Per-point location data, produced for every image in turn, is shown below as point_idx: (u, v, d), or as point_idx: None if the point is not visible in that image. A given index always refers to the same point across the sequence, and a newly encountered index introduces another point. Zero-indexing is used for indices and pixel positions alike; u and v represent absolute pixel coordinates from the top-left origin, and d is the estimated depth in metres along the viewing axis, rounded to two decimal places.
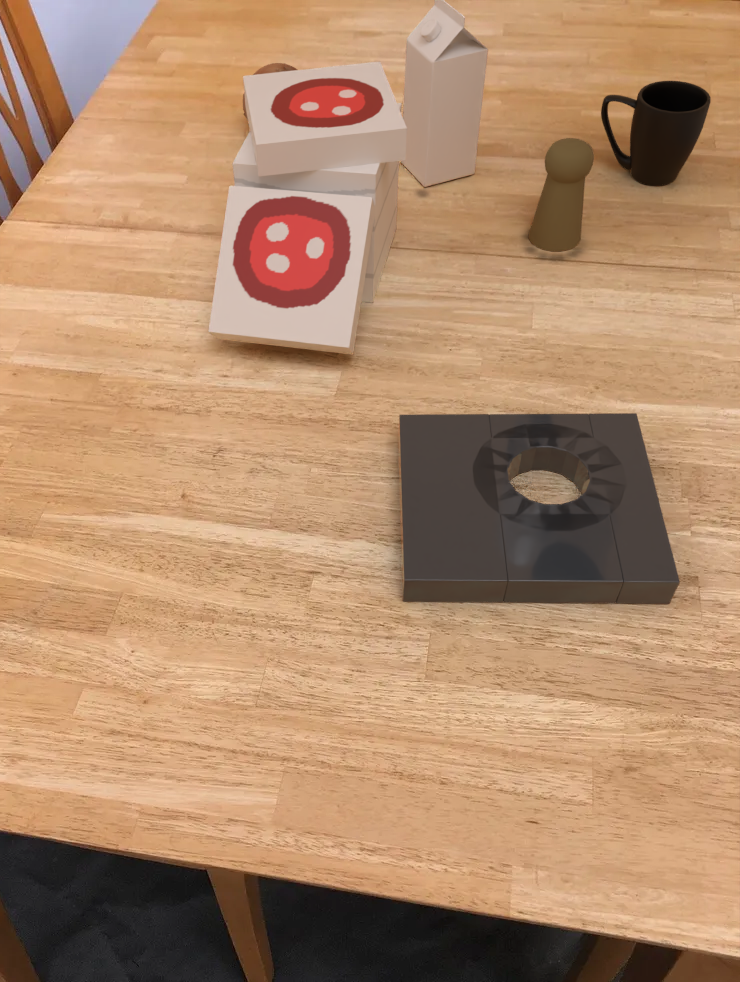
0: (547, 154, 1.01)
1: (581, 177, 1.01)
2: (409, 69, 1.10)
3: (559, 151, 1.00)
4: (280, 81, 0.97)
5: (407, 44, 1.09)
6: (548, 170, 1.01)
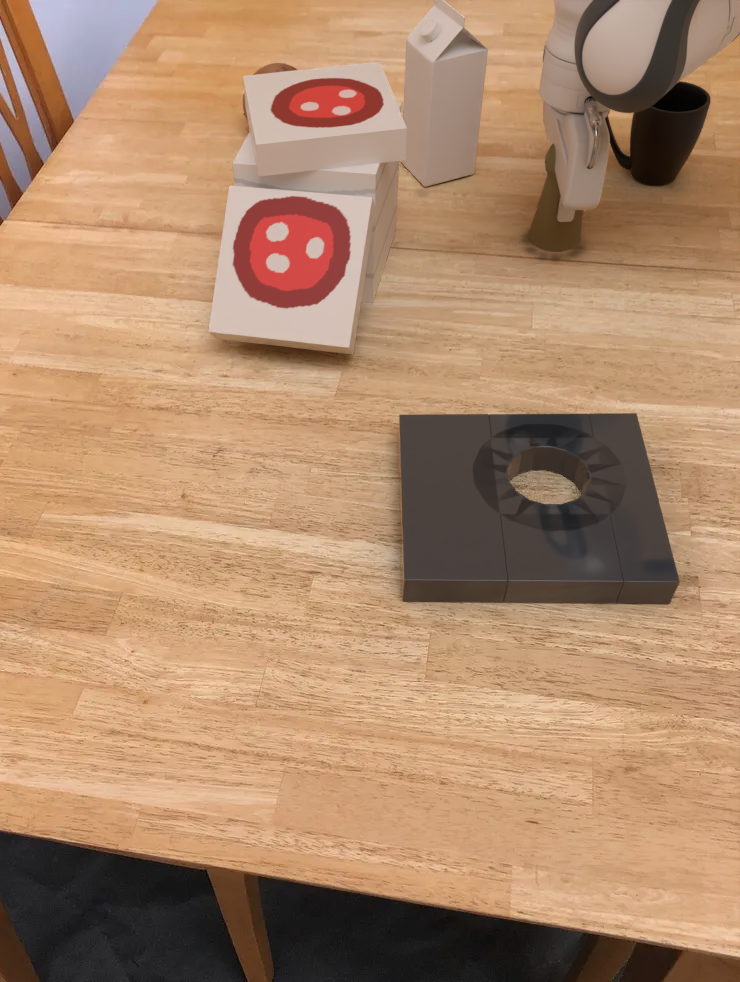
0: (547, 154, 1.01)
1: None
2: (409, 69, 1.10)
3: None
4: (280, 81, 0.97)
5: (407, 44, 1.09)
6: (548, 170, 1.01)
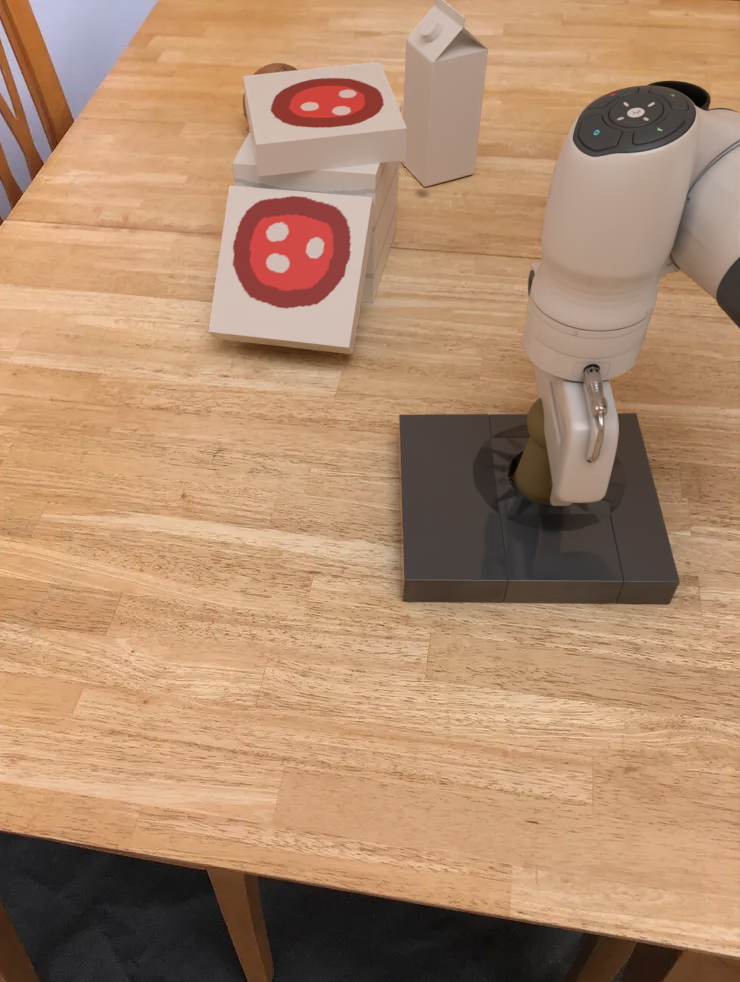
0: (530, 415, 0.76)
1: None
2: (409, 69, 1.10)
3: None
4: (280, 81, 0.97)
5: (407, 44, 1.09)
6: (531, 435, 0.77)
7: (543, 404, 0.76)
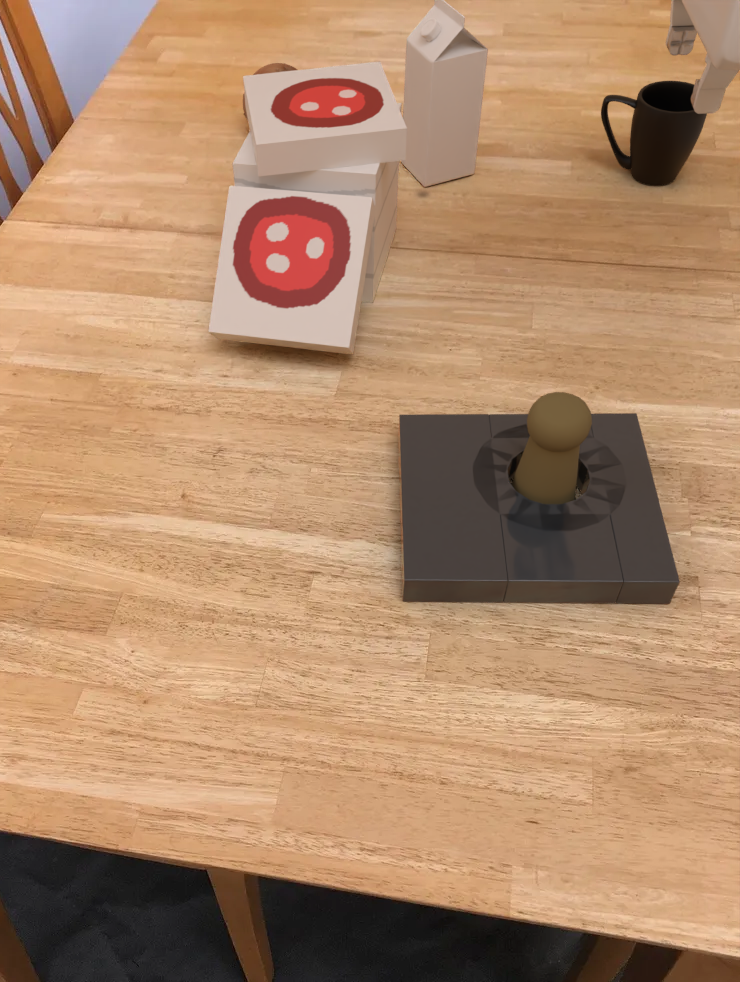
0: (530, 415, 0.76)
1: (574, 446, 0.76)
2: (409, 69, 1.10)
3: (546, 416, 0.75)
4: (280, 81, 0.97)
5: (407, 44, 1.09)
6: (531, 435, 0.77)
7: None
